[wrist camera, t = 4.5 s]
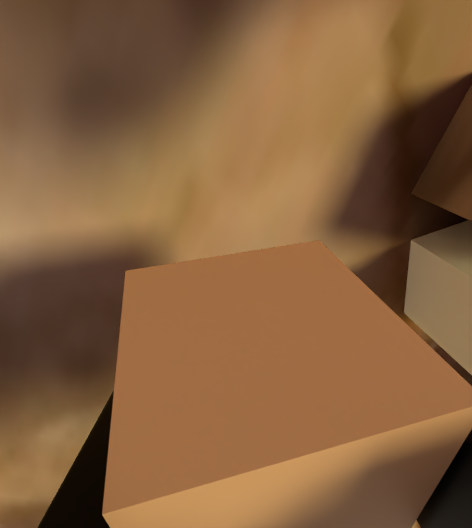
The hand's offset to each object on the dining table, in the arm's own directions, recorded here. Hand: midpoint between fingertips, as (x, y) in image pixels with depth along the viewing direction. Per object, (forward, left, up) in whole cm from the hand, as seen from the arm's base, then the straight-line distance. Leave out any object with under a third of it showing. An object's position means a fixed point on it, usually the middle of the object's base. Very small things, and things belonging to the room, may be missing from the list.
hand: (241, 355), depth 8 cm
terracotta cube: (0, 0, -1) cm, 1 cm away
